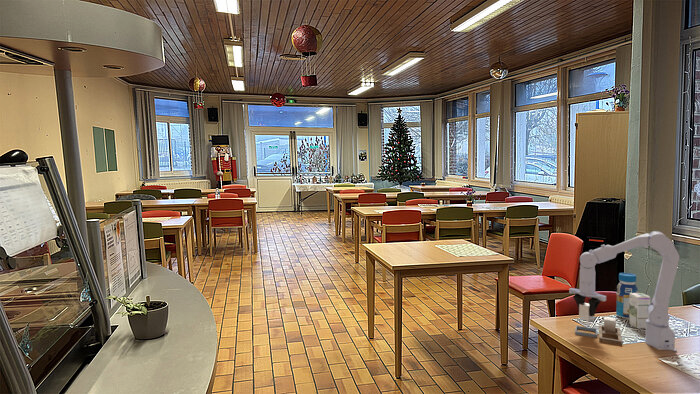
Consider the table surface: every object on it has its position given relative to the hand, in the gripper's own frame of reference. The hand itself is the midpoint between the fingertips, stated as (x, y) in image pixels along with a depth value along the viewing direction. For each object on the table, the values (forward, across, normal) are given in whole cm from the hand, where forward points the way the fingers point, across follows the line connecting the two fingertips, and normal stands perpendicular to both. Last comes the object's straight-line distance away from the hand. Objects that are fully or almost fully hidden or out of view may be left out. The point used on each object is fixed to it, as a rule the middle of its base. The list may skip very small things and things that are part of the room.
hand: (586, 314), depth 178 cm
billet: (+8, +5, +8) cm, 12 cm away
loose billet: (+2, 0, 0) cm, 2 cm away
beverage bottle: (+9, -3, +38) cm, 39 cm away
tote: (+9, 0, 0) cm, 9 cm away
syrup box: (+9, +7, +28) cm, 30 cm away
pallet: (+9, +7, +4) cm, 12 cm away
